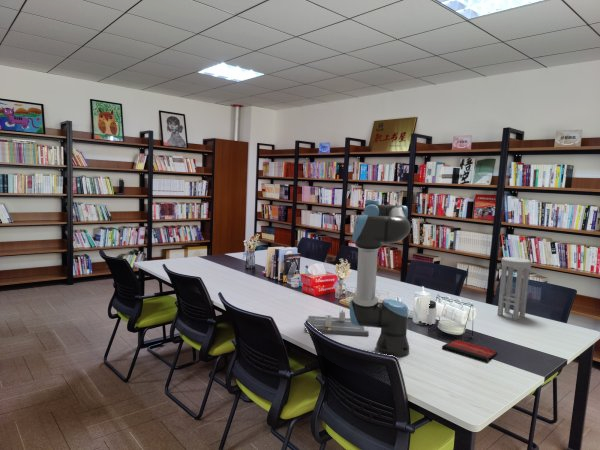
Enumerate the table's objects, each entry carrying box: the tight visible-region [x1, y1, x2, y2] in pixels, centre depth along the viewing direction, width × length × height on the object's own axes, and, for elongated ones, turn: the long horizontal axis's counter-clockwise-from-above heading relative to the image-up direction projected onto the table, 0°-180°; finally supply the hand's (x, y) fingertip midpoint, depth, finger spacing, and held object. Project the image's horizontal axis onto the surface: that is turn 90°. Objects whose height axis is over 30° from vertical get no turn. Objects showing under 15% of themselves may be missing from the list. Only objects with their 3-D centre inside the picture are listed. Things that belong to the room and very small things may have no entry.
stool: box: [497, 256, 532, 321], centre depth 254 cm, size 16×16×35 cm
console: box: [305, 315, 370, 337], centre depth 224 cm, size 21×32×2 cm, turn 85°
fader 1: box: [325, 314, 333, 327], centre depth 219 cm, size 4×3×5 cm
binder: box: [441, 339, 498, 364], centre depth 199 cm, size 16×2×21 cm
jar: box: [426, 299, 437, 326], centre depth 237 cm, size 9×8×12 cm
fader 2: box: [338, 309, 346, 321], centre depth 228 cm, size 4×3×5 cm
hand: (368, 269), depth 233 cm, fingers closed
